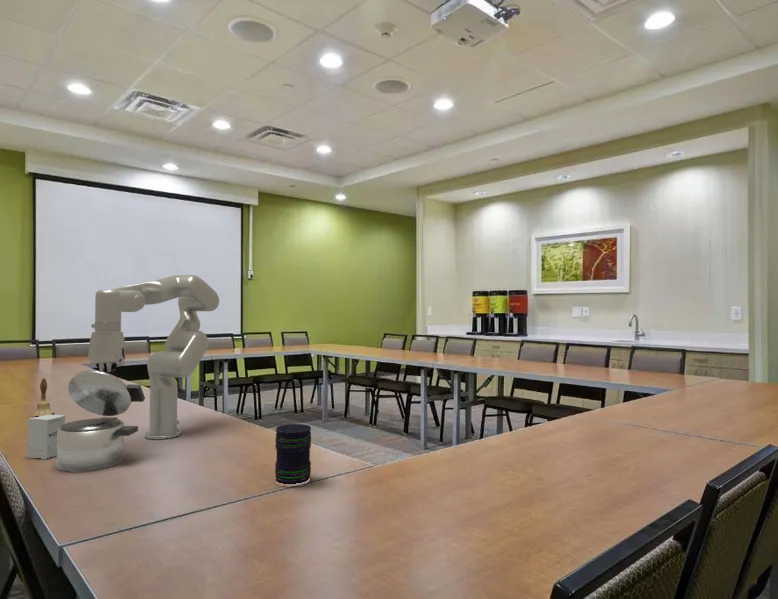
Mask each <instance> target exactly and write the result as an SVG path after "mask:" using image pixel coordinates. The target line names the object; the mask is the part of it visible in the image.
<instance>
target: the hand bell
mask: <svg viewBox="0 0 778 599" xmlns="http://www.w3.org/2000/svg"><path fill="white" fill-rule="evenodd" d="M39 386H40V387H39V389H40V392H41V395H40V401H39V402H37V405H36V409H35V412H34V413H33V414H32V415H33V416H43V415H50V414H53V413H55V412H54V411H53V410H52V409H51V406H50V402H49V401H47V400H46V397H47V396H46V393H47V390H48V389H47V388H48V382H47V379H46V378H41V380H40V385H39ZM53 415H54V414H53ZM33 416H32V417H33Z"/></svg>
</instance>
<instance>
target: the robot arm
mask: <svg viewBox="0 0 778 599" xmlns="http://www.w3.org/2000/svg"><path fill="white" fill-rule="evenodd" d="M177 298H178V299H177ZM174 299H177V306H178V310H179V320H178V322H177V323H176V324H175V327H174V328H173V329H172V331H171V332H170V333H169V335H168V337H167V338H166V340H165V344H164V347H165V349H166V350H159V351H156V352H154V353H151V355H150V356H149V357H148V360H147V363H146V364H147V365H146V366H147V373H148V376H149V426H148V427H149V428H148V430H149V431H146V432H145V433H144V438H145V437H146V439H150V440H165V439H166V438H168V439H172V437H173V438H176V436H177V437H178V436H181V435H182V430H181V429H179V428H178V425H180V420H178V392H179V391H178V384H177V382H176V379H175V378H188V377H190V376H191V375H192V374H193V373H194V371H195V370H196V369H197V367H198V365H199V363H200V362H201V360H202V358H203V357H204V355H205V353H206V351H207V349H208V346H209V345H208V344H209V341H208V336H207V334H206V333H205V332H203V331H201V330H200V328H201V321H200V318H199V316H198V314H197V312H213V311H215V310H216V309H218V307H219V305H220V297H219V295H218V293H217V291H216V290H214V289H213V288H212V287H211V286H210V285H209V284H208V283H207V282H206V281H205V280H203V279H202V278H201V277H199V276H198V275H193V274H183V275H182V274H180V275H172V276H168V277H163V278H160V279H155V280H152V281H146V282H141V283H136V284H130V285H125V286H120V287H117V288H112V289H100V290H97V291H96V292H95V299H94V300H95V302H94V303H95V304H94V305H95V306H94V310H95V311H94V314H95V315H94V323H92V324H91V328H92V329H94V331H92V333H91V335H90V340H89V344H88V346H89V347H88V356H87V357H88V361H89V362H90V363H89V364H90V366H93V367H96V368H98V370H99V371H102V372H106V373H109V374H111V375H113V376H114V372H115V371H116V369H117V368H118V367H121V366H124V365H125V359H126V342H125V336H124V332H123V331H122V313H135V312H140V311H141V310H142V309H144V307H145V306H147V305H157V304H158V305H159V304H163V303H165V302H168V301H171V300H174ZM180 434H181V435H180ZM166 440H167V439H166Z"/></svg>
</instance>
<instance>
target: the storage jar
mask: <svg viewBox="0 0 778 599" xmlns="http://www.w3.org/2000/svg"><path fill="white" fill-rule="evenodd" d="M311 430H312V427H311V426H310V425H309V424H303V423H302V424H301V423H288V424H282V425H278V426H277V427H276V428H275V432H276V433H275V445H274V446H275V450H276V461H275V469H274V474H275V480H276V481H277V482H279V483H283V484H296V483H302V482H305V481H307V480H308V479H309V478H310V479H311V472H312V471H311V470H312V468H311V465H312V462H311V459H310V458H311V457H310V456H311V455H310V454H311V452H310V451H311V448H312V447H311V446H312V433H311Z"/></svg>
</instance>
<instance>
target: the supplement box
mask: <svg viewBox="0 0 778 599" xmlns="http://www.w3.org/2000/svg"><path fill="white" fill-rule="evenodd" d="M27 421H28V424H27V425H28V428H27V430H28V431H27V458H28V459H34V458H41V459H40V460H48V459H50V457H51V458H53V457H57V428H58V427H60V426H61V425H63V424H66V414H65V415H63V414H53V415H44V416H39V417H31V418H28V420H27ZM47 458H48V459H47Z"/></svg>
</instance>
